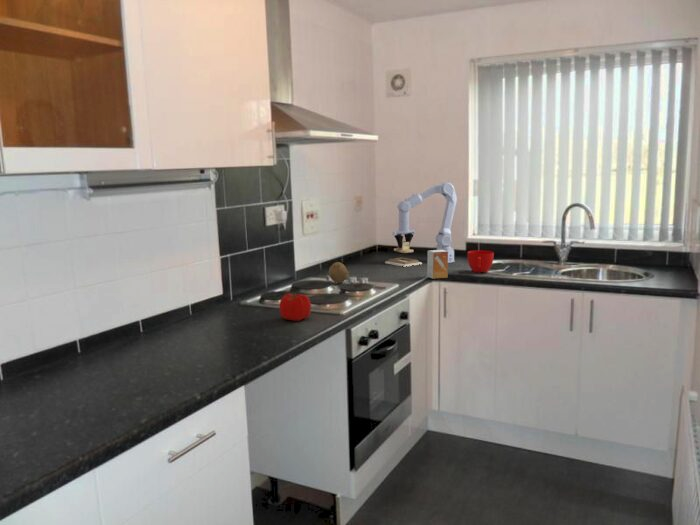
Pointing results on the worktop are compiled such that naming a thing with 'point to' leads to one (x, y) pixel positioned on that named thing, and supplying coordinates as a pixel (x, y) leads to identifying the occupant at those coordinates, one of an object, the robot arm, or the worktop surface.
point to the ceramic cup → (480, 260)
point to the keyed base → (403, 262)
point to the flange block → (404, 248)
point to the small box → (437, 264)
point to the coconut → (338, 272)
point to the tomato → (295, 307)
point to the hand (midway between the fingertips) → (403, 247)
